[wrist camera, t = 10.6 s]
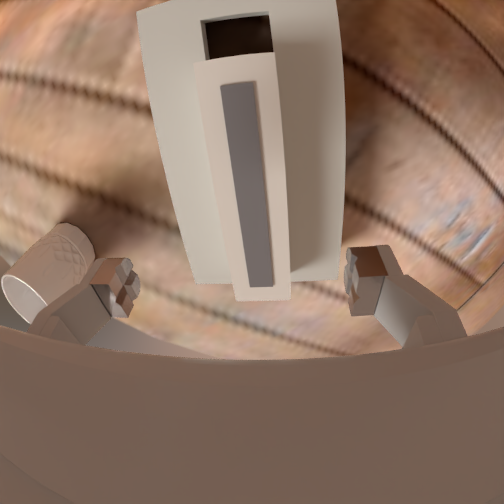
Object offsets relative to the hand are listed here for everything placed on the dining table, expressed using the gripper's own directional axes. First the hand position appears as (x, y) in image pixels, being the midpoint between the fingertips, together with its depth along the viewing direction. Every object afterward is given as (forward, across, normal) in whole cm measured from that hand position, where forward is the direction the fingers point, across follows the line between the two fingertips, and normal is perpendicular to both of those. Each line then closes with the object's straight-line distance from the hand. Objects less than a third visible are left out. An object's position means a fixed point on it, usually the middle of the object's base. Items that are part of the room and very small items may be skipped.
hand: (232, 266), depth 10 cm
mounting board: (+14, 0, -1) cm, 14 cm away
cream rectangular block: (+12, 0, +1) cm, 12 cm away
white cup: (+14, +22, +8) cm, 27 cm away
